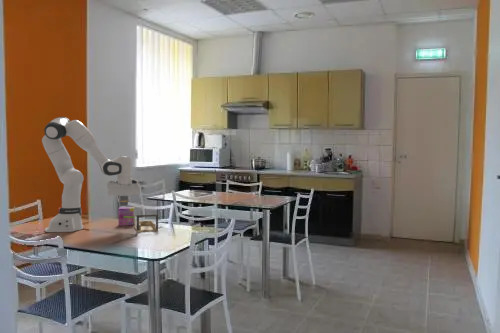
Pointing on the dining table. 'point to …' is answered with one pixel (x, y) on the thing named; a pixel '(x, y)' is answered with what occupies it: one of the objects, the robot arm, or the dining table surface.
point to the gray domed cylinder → (123, 200)
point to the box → (126, 215)
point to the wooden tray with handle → (146, 224)
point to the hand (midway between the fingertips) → (123, 202)
